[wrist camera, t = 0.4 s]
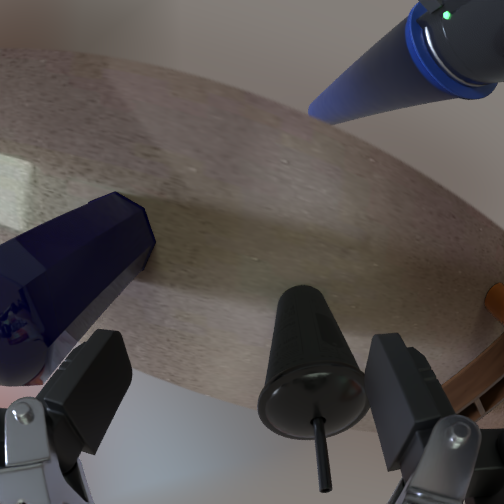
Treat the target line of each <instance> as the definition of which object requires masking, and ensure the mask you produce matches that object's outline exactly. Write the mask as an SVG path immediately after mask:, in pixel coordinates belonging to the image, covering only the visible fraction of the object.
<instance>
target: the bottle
mask: <svg viewBox="0 0 504 504" xmlns="http://www.w3.org/2000/svg"><path fill="white" fill-rule="evenodd" d="M155 243H156V240H155V237H154V235H153V232H152V229H151V226H150V223H149V220H148V217H147V214H146V211H145V208H144V207H142V206H140V205H138V204H137V203H135V202H133V201H131V200H130V199H128V198H126V197H125V196H123V195H121V194H119V193H118V192H116V191H115V192H112V193H109V194H107V195H104V196H102V197H99V198H97V199H94V200H92V201H90V202H88V204H86V205H83V206H81V207H79V208H76V209H74V210H72V211H69V212H67V213H65V214H63V215H60V216H58V217H56V218H54V219H52V220H49V221H47V222H45V223H43V224H41V225H39V226H37V227H34V228H32V229H30V230H28V231H26V232H24V233H22V234H20V235H18V236H16V237H14V238H12V239H10V240H8V241H6V242H5V243H3V244H1V245H0V385H2V386H31V385H43V384H44V383H45V381H46V380H47V379H48V378H49V377H50V375H51V374H52V373H53V372H54V370H55V369H56V368H57V367H58V365H59V364H60V363H61V361H62V360H63V359H64V358H65V357H66V355H67V354H68V353H69V352H70V351H71V350H72V348H73V347H74V346H75V345H76V343H77V342H78V341H79V340H80V339H81V338H82V336H83V335H84V334H85V333H86V332H87V331H88V329H89V328H90V327H91V326H92V325H93V324H94V323H95V321H96V320H97V319H98V318H99V317H100V316H101V315H102V313H103V312H104V311H105V310H106V309H107V308H108V307H109V305H110V304H111V303H112V302H113V301H114V300H115V299H116V298H117V297H118V295H119V294H120V293H121V292H122V291H123V290H124V289H125V288H126V287H127V286H128V284H129V283H130V282H131V281H132V280H133V279H134V278H135V277H136V276H137V275H138V274H139V273H140V272H141V271H143V270H144V268H145V266H146V264H147V261H148V259H149V257H150V254H151V252H152V250H153V248H154V246H155Z"/></svg>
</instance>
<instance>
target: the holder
mask: <svg viewBox="0 0 504 504" xmlns="http://www.w3.org/2000/svg"><path fill="white" fill-rule="evenodd" d="M441 386H442V388H443V390H444V392H445V394H446V395H447V397H448V399H449V401H450V403H451V405H452V407H453V409H454V411H455V413H456V414H457V415H462V416H466V417H468V418H470V419H471V420H473V421H474V422H475V423H476V422H477V421H478V420H480V419H481V418H482V417H484V416H485V415H486V414H488V413H489V412H490V411H491V410H493V409H494V408H495V407H496V406H497V405H499V404H500V403H501V402H502V401H503V400H504V333H503V334H502V335H501V336H500V337H499V338H498V339H497V340H496V341H494V342H493V343H492V344H491V345H490V346H489V347H488V348H487V349H486V350H485V351H483V352H482V353H481V354H480V355H479V356H478V357H476V358H475V359H474V360H473V361H472V362H471V363H469V364H468V365H467V366H466V367H464V368H463V369H462V370H461V371H459V372H458V373H457V374H456V375H454V376H453V377H452V378H450V379H449V380H448V381H447V382H445V383H444V384H443V385H441Z"/></svg>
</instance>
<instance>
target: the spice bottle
mask: <svg viewBox="0 0 504 504" xmlns="http://www.w3.org/2000/svg"><path fill="white" fill-rule="evenodd" d="M485 308H486V309H487V310H488V311H489V312H490V313H491V314H492V315H493V316H494V317H495V318H496V319H497V320H498V321H499V322H500V323H501V324H502V325H503V326H504V284H503V283H497V284H495V285H494V286H493V287H492V288H491V289H490V290H489V291H488V293H487V295H486V298H485Z"/></svg>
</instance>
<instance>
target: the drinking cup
mask: <svg viewBox="0 0 504 504" xmlns="http://www.w3.org/2000/svg"><path fill="white" fill-rule="evenodd" d="M364 375H365V374H364V373H363V372H362V371H361V370H360V369H359V367H358V365H357V363H356V361H355V358H354V356H353V354H352V352H351V350H350V348H349V346H348V344H347V342H346V340H345V338H344V336H343V334H342V332H341V330H340V328H339V326H338V324H337V322H336V320H335V318H334V316H333V314H332V312H331V310H330V309H329V307H328V305H327V303H326V301H325V299H324V297H323V295H322V294H321V293H320V292H319V291H318V290H317V289H315V288H313V287H311V286H305V285H301V286H295V287H292V288H290V289H289V290H287V291H286V292H285V293H284V294H283V295H282V296H281V298H280V300H279V302H278V307H277V314H276V320H275V327H274V333H273V339H272V345H271V351H270V357H269V363H268V369H267V375H266V380H265V386H264V388H263V389H262V391H261V393H260V395H259V398H258V405H257V409H258V414H259V417H260V419H261V421H262V422H263V424H264V425H265V426H266V427H267V428H269V429H270V430H271V431H273V432H274V433H276V434H278V435H281V436H283V437H287V438H291V439H297V440H315V447H316V457H317V467H318V468H317V469H318V480H319V491H320V492H322V493H327V492H330V491H332V481H331V474H330V465H329V458H328V450H327V442H326V438H327V437H331V436H334V435H337V434H339V433H341V432H344V431H346V430H348V429H349V428H351V427H353V426H354V425H355V424H357V423H358V422H359V421H360V420H361V419H362V418H363V417H364V416H365V415H366V413H367V412H368V410H369V408H370V404H369V401H368V397H367V394H366V391H365V385H364Z"/></svg>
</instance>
